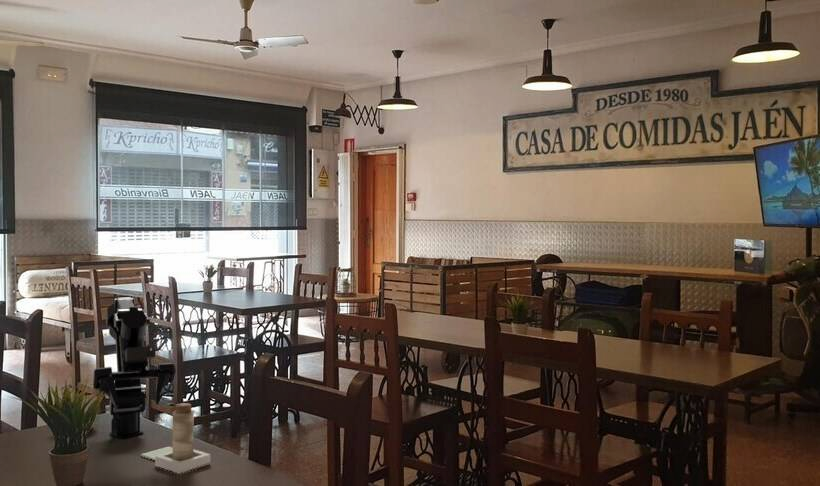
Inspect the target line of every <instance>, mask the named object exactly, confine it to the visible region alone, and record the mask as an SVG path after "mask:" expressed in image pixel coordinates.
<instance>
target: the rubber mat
mask: <svg viewBox="0 0 820 486" xmlns="http://www.w3.org/2000/svg"><path fill="white" fill-rule="evenodd" d="M171 451H172V446H166V447H165V446H164V447H162V448H158V449H155V450H152V451H151V450H150V451H148V452H144V453H141V454H140V457H141V456H142V457H141V458H144V457H145V458H144V459H147V458H148V459H147V460H150V459H152V460H151V461H153V460H155V456H157V455H161V454H164V453H168V452H171Z"/></svg>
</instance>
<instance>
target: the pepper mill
mask: <svg viewBox="0 0 820 486" xmlns="http://www.w3.org/2000/svg"><path fill="white" fill-rule="evenodd" d="M174 409H175V410H174V411H172V446H171V447H172V459H174V460H177V461H183V460H187V459H190V458H193V449H194V439H195V438H194V433H195V432H194V427H195V425H194V424H195V423H194V422H195V419H194V417H195V412H194V410H193V409H192V404H191V403H187V402H182V403H178V404H177V403H176V404H175V408H174Z"/></svg>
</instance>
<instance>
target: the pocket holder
mask: <svg viewBox="0 0 820 486" xmlns="http://www.w3.org/2000/svg"><path fill="white" fill-rule="evenodd" d="M209 462H210V463H211V454H210V453H208V452H204V451H201V450H197V449H195V448H193V458H190V459H187V460H183V461H177V460H174V459H172V451H171V452H168V453H164V454H161V455H157V456H155V461H154V466H158V467H161V468H165V469H169V470H172V471H174V472H177V473H180V472H183V471H186V470H189V469H192V468H195V467H197V466H200V465H203V464H206V463H209ZM158 467H157V468H158ZM161 468H160V469H161Z"/></svg>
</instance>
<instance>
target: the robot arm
mask: <svg viewBox="0 0 820 486" xmlns="http://www.w3.org/2000/svg"><path fill="white" fill-rule="evenodd" d="M105 317H106V318H105V324H106V325H105V326H106V328H107V327H108V333H109V336H111V337H112V339H113V340H114V341H115V355H116V369H117V370H116V371H115V372H114V371H113V369H112V368H113V367H112V366H108V367H96V368H94V370H93V376H92V385H93V387H92V388H93V389H94V390H98V391H99V392H103V393H104V394H105V395H106V396H107V397H108V399H109V413H110V414H109V415H110V416H112V418H111V424H110V426H111V431H110V432H109V436H113V437H116V438H119V439H123V440H125V439H127V438H131V437H132V438H133V437H134V436H139V435H143V434H144V431H142V430H141V413H145V411H146V405H147V394H146V393H145V390H144V389H142V381H141V379H142V380H143V379H153V378H155V379H156V383H155V404H156V406H158V405H159V404H160V398H161V394H162V391H163V389H164V387H168V386H169V384H171V383H173V382H174V379H175V375H176V371H177V369H176V365H175V364H174V363H173V362H162V363H158V364H157V368H155V369H147V368H148V367H149V361H148V360H149V359H154V358H155V357H156V347H155V346H156V345H155V343H149V344H146V346H145V343H144V337H145V334H146V328H147V326H148V324H150V321H151V320H150V318H149V316H148V315H147V313H146V312H144V309H143V308H141V307H138V306H137V305H136V304H135V300H134V297H130V296H129V297H122V296H121V297H116V298H114V301H113V303H112V304H110V306H108V307H107V308H106V316H105Z"/></svg>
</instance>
